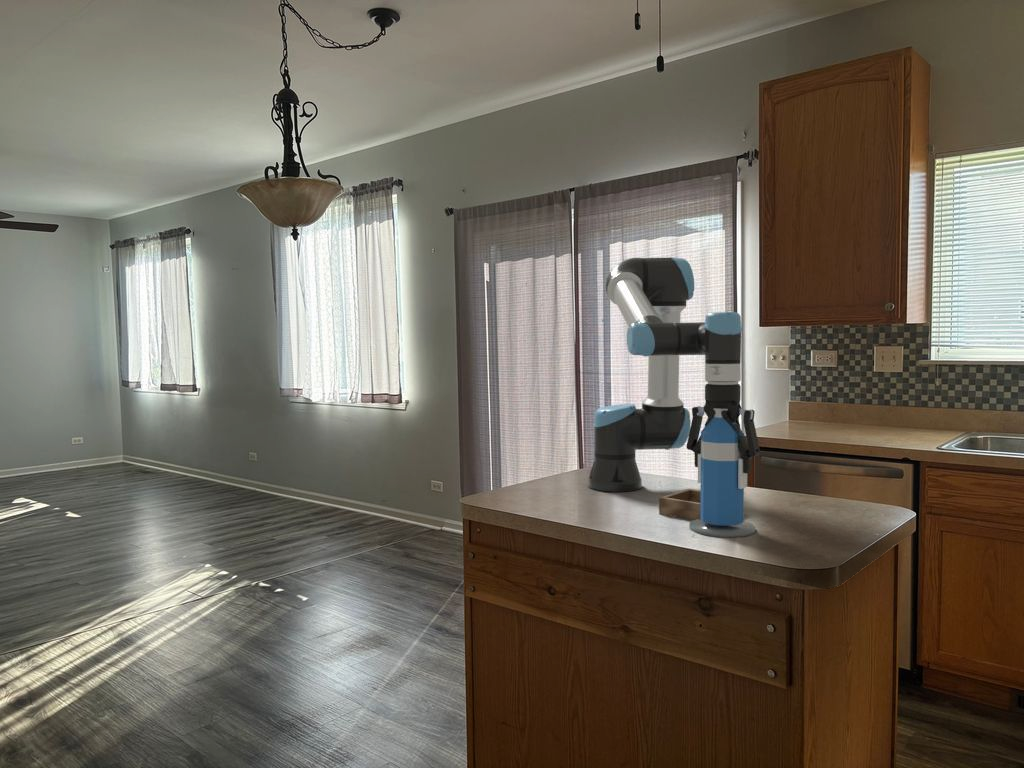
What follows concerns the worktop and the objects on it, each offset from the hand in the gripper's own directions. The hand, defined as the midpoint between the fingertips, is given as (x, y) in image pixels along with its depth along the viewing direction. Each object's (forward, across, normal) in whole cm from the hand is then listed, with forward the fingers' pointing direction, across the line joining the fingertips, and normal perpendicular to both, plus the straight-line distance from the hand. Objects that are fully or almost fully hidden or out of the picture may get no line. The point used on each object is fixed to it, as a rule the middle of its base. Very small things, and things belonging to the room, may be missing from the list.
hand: (722, 484), depth 161 cm
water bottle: (+8, 0, 0) cm, 8 cm away
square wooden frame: (+10, -11, +10) cm, 18 cm away
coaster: (+10, 0, 0) cm, 10 cm away
